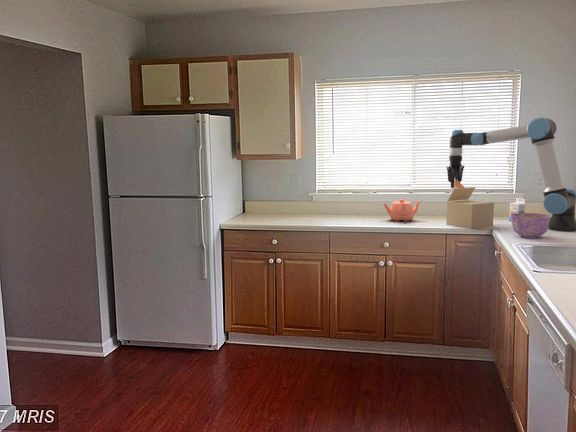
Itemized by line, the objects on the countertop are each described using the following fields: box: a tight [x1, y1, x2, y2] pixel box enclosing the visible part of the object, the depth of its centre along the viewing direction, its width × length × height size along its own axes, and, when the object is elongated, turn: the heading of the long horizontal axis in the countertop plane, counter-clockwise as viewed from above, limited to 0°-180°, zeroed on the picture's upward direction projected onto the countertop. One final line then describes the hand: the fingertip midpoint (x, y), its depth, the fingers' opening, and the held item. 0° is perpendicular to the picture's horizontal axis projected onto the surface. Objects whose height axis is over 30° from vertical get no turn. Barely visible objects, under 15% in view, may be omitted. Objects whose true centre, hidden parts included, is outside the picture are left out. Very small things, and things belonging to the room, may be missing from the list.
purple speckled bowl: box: [510, 212, 552, 239], centre depth 288 cm, size 20×20×12 cm
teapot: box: [383, 198, 422, 223], centre depth 351 cm, size 18×18×14 cm
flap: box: [446, 180, 476, 202], centre depth 336 cm, size 10×18×8 cm
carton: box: [445, 199, 495, 230], centre depth 328 cm, size 20×18×14 cm
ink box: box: [508, 197, 526, 222], centre depth 342 cm, size 8×5×15 cm, turn 17°
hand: (454, 192), depth 338 cm, fingers open, 2 cm apart
